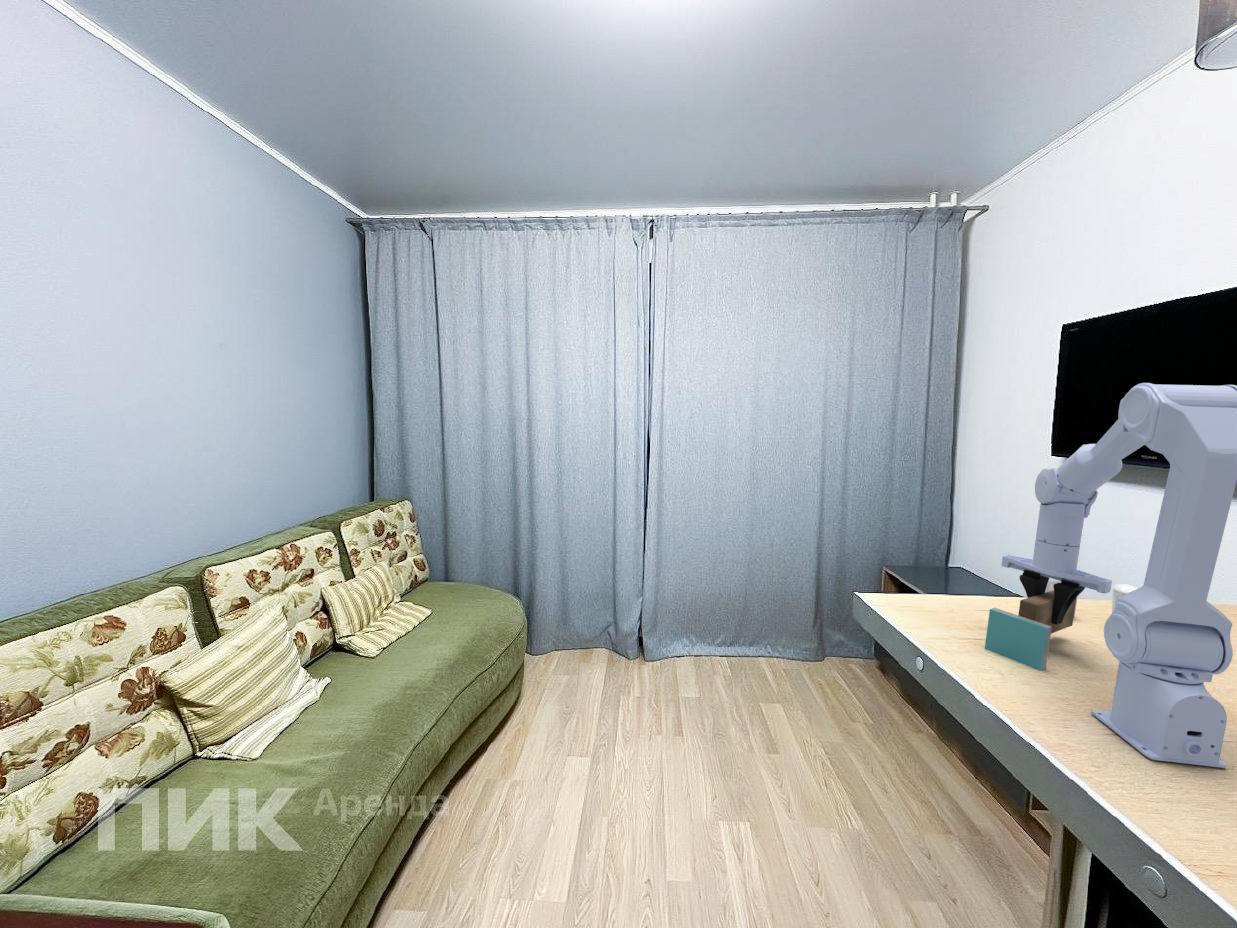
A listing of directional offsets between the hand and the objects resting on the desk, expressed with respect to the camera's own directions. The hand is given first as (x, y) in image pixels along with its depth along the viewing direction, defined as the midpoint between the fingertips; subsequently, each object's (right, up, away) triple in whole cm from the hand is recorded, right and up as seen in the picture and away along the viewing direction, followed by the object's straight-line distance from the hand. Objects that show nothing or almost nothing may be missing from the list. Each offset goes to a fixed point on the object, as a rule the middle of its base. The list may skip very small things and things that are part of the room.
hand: (1046, 619), depth 89 cm
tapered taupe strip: (0, -2, 0) cm, 2 cm away
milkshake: (+20, -5, +7) cm, 22 cm away
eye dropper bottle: (+13, -4, +14) cm, 20 cm away
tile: (-8, -5, -4) cm, 11 cm away
